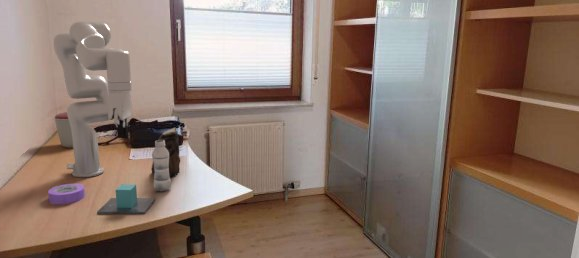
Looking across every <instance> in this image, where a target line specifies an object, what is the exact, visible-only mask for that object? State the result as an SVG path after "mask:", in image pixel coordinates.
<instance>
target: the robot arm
mask: <svg viewBox="0 0 579 258" xmlns="http://www.w3.org/2000/svg"><path fill="white" fill-rule="evenodd" d="M111 38H112V33H111V29H110V27H109V26H108V25H107V24H106V23H104V22H100V21H76V22H73V23H72V25H70V27H69V31H68V32H64V33H63V32H62V33H58V34H57V35H55V36H54V38H53V49H54V52H55V55H56V57H57V59H58V60H59V62H60V65H61V68H62V72H63V78H64V82H65V87H66V91H67V92H66V93H67V95H68V97H69V98H71V99H75V100H76V99H77V100H78V99H79V100H80V99H82V100H83V99H93V98H95V99H96V100H85V101H84V100H83V101H77V102H74V103H73V102H72V103H71V104H69V105H68V107H67V108H66V112H67V115H68V119H69V122H70V126H71V132H72V140H73V148H72V149H73V157H74V163H67V164H66V169H67V170H72V172H71V175H72V177H75V178H92V177H96V176H100V175H102V174H103V173H104V172H105V169H104V167H103V166H100V165H101V164H100V154H99V153H100V151H99V144H98V133H97V131H96V130H95V129H94V128H93V127H92V126H91V124H95V123H102V122H103V123H104V122H107V121H113V124H114V125H115V127H116V131H117V133H116V134H117V138H118V139H127V138H129V127H128V126H129V118H130V116H132V114H133V104H132V96H131V92H132V76H131V60H130V58H131V57H130V53H129V51H127V50H122V49H120V48H106V47H107V46H108V44H109V43H110V42H111ZM87 70H88V71H93V72H94V71H106V76H107V77H106V78H104V77H103V76H101V75H99V74H98V75H88V74H87ZM89 124H90V125H89Z"/></svg>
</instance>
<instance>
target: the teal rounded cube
mask: <svg viewBox="0 0 579 258" xmlns="http://www.w3.org/2000/svg"><path fill="white" fill-rule="evenodd" d="M115 198H116V201H117V208H132V207H133V206H134V205H135V204H136V203H137V198H138V194H137V184H133V183H132V184H130V183H129V184H127V183H126V184H120V185H119V186H118V187H117V188H116V189H115Z"/></svg>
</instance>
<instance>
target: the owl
mask: <svg viewBox="0 0 579 258" xmlns="http://www.w3.org/2000/svg"><path fill="white" fill-rule="evenodd" d="M179 137H180V136H179V134H178V132H177V127H173V128H171V129H167V130H166V131H164V132H163V133H162V134H161V135H160V136H159V138H158V140H164V141H165V148H166V149H167V150H168V152H169V167H168V168H169V176H170V179H172V178H173V179H174V178H175V177H177V175H178V174H180V173H181V172H180V168H181V167H180V164H181V157H180V145H179ZM151 174H153V175H154V176H155V170H154V163H153V162H152V165H151Z"/></svg>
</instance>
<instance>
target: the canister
mask: <svg viewBox="0 0 579 258" xmlns="http://www.w3.org/2000/svg"><path fill="white" fill-rule="evenodd" d="M52 120H54V122H55V127H56V132H57V135H58V138H59V142H60V144H61V145H62V146H61V147H65V148H66V149H67V148H68V149H69V148H71V149H73V140H72V132H71V126H70V122H69V119H68V115H67V111H66V112H60V113H57V114H55V116H53V117H52ZM89 125H90V126H91V124H89Z"/></svg>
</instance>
